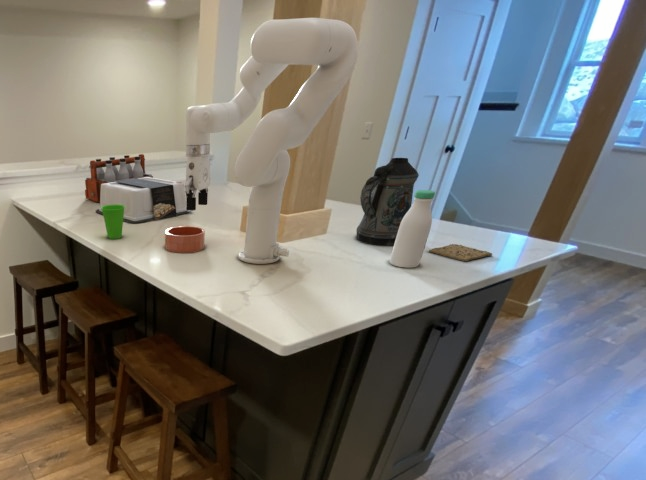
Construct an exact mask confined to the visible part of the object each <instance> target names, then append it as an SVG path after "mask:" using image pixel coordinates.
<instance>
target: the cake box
mask: <svg viewBox="0 0 646 480" xmlns="http://www.w3.org/2000/svg"><path fill="white" fill-rule="evenodd" d="M185 191H186V190H185V183H184V182H183V181H174V180H168V179H163V178H162V179H161V178H156V177H153V178H151V177H144V178H131V179H124V180H117V181H113V182H111V183H104V184H101V193H100V202H99V208H98V209H95V212H96V213H97V214H100V215H103V212H102V209H101V207H102V206H106V205H115V204H117V205H124V206H125V208H124V217H123V222H127V223H130V224H140V223H145V222H150V221H159V220H165V219H169V218H174V217H175V218H176V217H177V216H179V215H183V214H189V213H190V212H194V210H187V209H186V193H185Z"/></svg>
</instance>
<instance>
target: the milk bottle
mask: <svg viewBox="0 0 646 480" xmlns="http://www.w3.org/2000/svg"><path fill="white" fill-rule="evenodd" d="M435 195H436V191H434V190H429V189H418V190H415V193H414V197H413V201H412V202H413V203H412V204H411V208H410V209H409V211H408V212H407V213H406V214H405V216H404V217H403V219H402V221H401V223H400V227H399V230H398V233H397V236H396V240H395V243H394V246H392V247H393V248H392V251H391V254H390V258H389V263H390V264H391V265H392V266H394V267H395V266H396V267H400V268H416V267H418V266H419V265H420V263H421V261H422V257H423V254H424V251H425V248H426V245H427V241H428V238H429V235H430V232H431V229H432V222H433V216H432V215H433V214H432V209H431V208H432V201H434V198H435Z"/></svg>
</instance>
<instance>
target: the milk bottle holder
mask: <svg viewBox="0 0 646 480" xmlns="http://www.w3.org/2000/svg"><path fill="white" fill-rule="evenodd" d="M130 156H131V155H130V154H125V155H123V157H122V158H116V157H115V156H109V159H106V160H102V158H95V160H93V159H92V160H90V161H89V170H90V176H89V177H85V179H84V184H85V189H84V196H85V200H90V201H92V202H96V203H100V193H101V184H104V183H111V182H113V181H117V180H124V179H131V178H144V177H151V178H154V176H153V174H151V173H147V172H146V168H145V165H146V164H145V163H146V158H145V155H144V153H140V154H138V156H137V155H136V156H131V157H130ZM131 164H134V166H133V167H132V165H131ZM117 166H119V169H118V168H117ZM104 168H105V170H104Z"/></svg>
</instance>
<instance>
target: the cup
mask: <svg viewBox="0 0 646 480" xmlns="http://www.w3.org/2000/svg"><path fill="white" fill-rule="evenodd" d="M124 208H125V206H124V205H117V204H115V205H106V206H102V207H101V209H102V212H103V214H102V217H103V220H104V225H105V230H106V234H107V238H108V239H110V240H118V239H121V238H122V235H123V226H124V221H123V217H124Z"/></svg>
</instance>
